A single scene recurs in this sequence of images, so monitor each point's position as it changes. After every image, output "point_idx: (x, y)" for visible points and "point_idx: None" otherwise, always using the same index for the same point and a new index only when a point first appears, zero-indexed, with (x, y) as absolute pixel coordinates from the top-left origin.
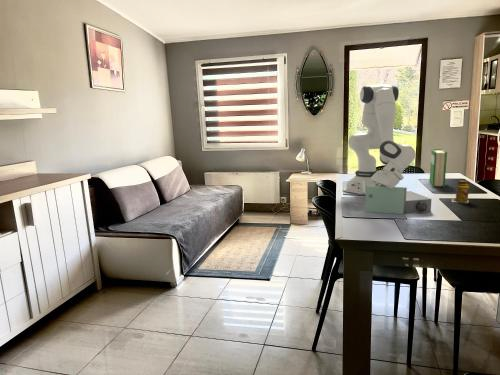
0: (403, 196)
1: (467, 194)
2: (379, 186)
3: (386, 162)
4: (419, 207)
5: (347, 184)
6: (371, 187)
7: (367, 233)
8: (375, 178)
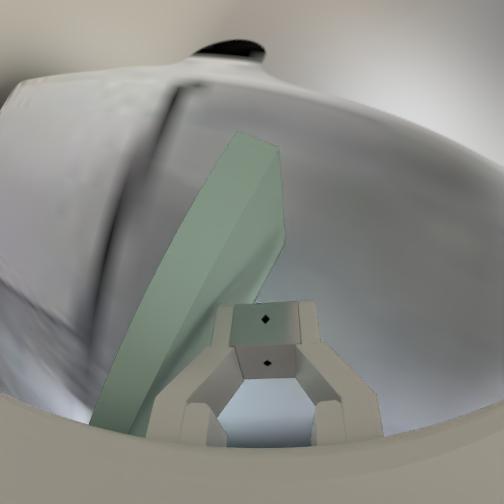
0: None
1: None
2: (144, 385)
3: None
4: None
5: None
6: (185, 231)
7: (4, 152)
8: (500, 460)
